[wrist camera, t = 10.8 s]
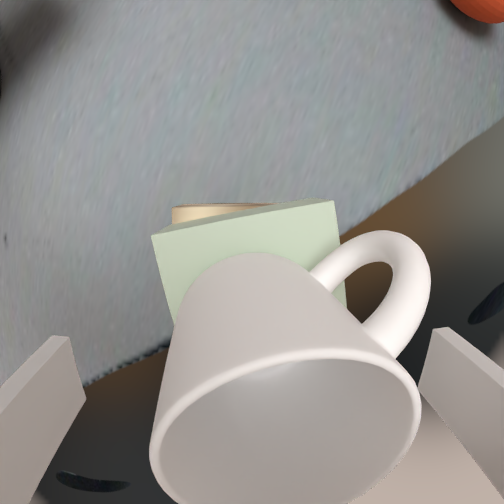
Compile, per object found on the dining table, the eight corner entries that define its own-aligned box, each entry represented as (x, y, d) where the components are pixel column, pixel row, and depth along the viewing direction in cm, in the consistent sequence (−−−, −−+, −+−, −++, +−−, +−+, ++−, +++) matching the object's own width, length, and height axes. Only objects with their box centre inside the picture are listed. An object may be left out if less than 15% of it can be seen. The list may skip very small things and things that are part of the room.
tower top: (201, 353, 24) (194, 390, 19) (169, 225, 22) (150, 235, 17) (329, 328, 24) (350, 360, 19) (312, 197, 22) (333, 200, 17)
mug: (304, 164, 16) (431, 153, 6) (393, 270, 18) (520, 346, 8) (148, 323, 17) (96, 466, 7) (252, 401, 19) (281, 539, 9)
